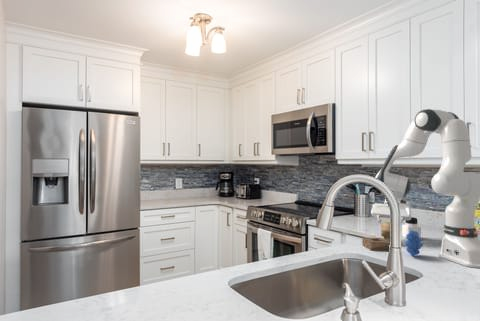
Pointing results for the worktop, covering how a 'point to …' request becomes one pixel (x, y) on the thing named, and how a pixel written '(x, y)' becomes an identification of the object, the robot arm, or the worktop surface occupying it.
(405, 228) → the medicine bottle
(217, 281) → the worktop surface
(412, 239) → the grapes
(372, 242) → the brown wooden tray
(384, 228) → the tan tall piece
